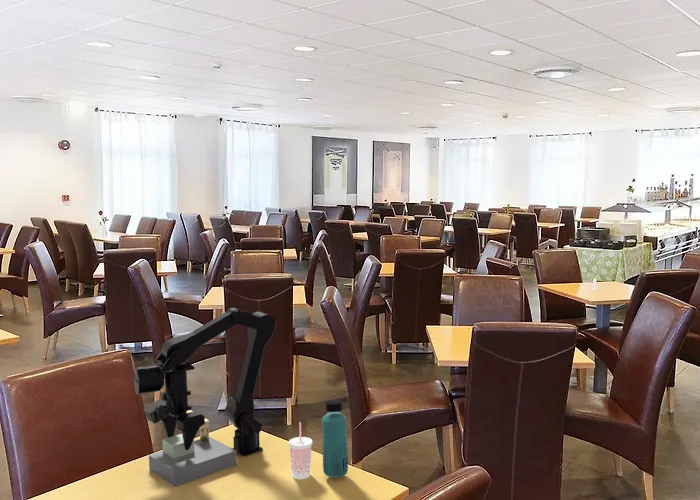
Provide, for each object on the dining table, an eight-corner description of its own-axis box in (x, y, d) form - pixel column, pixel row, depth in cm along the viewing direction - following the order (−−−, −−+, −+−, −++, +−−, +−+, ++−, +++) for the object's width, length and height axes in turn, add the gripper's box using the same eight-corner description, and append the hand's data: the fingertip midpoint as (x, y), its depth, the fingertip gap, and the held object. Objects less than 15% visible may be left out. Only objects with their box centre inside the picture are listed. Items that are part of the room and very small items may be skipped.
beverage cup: (318, 474, 163) (317, 421, 162) (300, 482, 159) (299, 428, 157) (301, 467, 167) (300, 416, 166) (284, 475, 163) (283, 422, 161)
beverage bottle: (345, 484, 157) (344, 406, 155) (319, 482, 159) (318, 404, 157) (350, 473, 164) (349, 397, 162) (325, 471, 165) (324, 396, 163)
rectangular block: (183, 445, 173) (182, 433, 172) (194, 452, 168) (193, 439, 168) (162, 452, 169) (162, 439, 168) (173, 458, 164) (173, 445, 164)
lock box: (209, 450, 180) (208, 436, 179) (236, 465, 169) (236, 450, 169) (149, 469, 167) (148, 454, 167) (174, 486, 157) (174, 471, 157)
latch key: (210, 439, 176) (209, 420, 175) (202, 442, 174) (202, 422, 174) (183, 423, 189) (182, 405, 189) (176, 425, 188) (175, 407, 187)
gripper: (131, 386, 168) (134, 443, 170) (164, 403, 155) (167, 464, 156) (170, 378, 176) (172, 432, 177) (204, 392, 162) (207, 451, 164)
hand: (178, 444), depth 168 cm, fingers open, 9 cm apart
